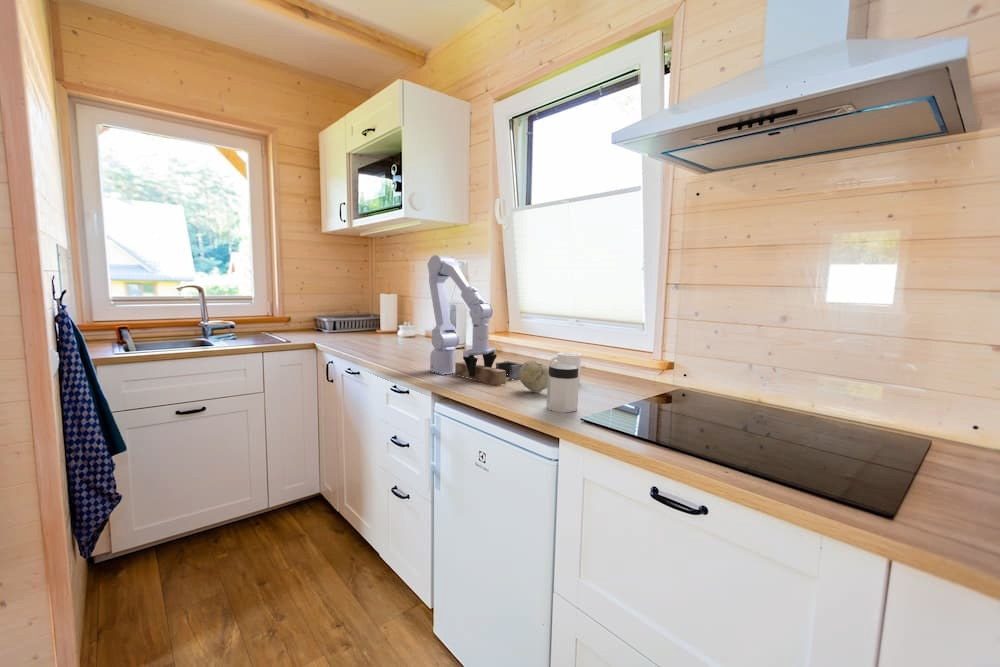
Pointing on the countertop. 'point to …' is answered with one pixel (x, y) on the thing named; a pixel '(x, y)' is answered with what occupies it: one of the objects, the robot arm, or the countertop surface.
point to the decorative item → (534, 375)
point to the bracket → (510, 368)
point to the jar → (562, 388)
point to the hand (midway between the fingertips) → (479, 374)
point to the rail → (482, 373)
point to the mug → (568, 359)
